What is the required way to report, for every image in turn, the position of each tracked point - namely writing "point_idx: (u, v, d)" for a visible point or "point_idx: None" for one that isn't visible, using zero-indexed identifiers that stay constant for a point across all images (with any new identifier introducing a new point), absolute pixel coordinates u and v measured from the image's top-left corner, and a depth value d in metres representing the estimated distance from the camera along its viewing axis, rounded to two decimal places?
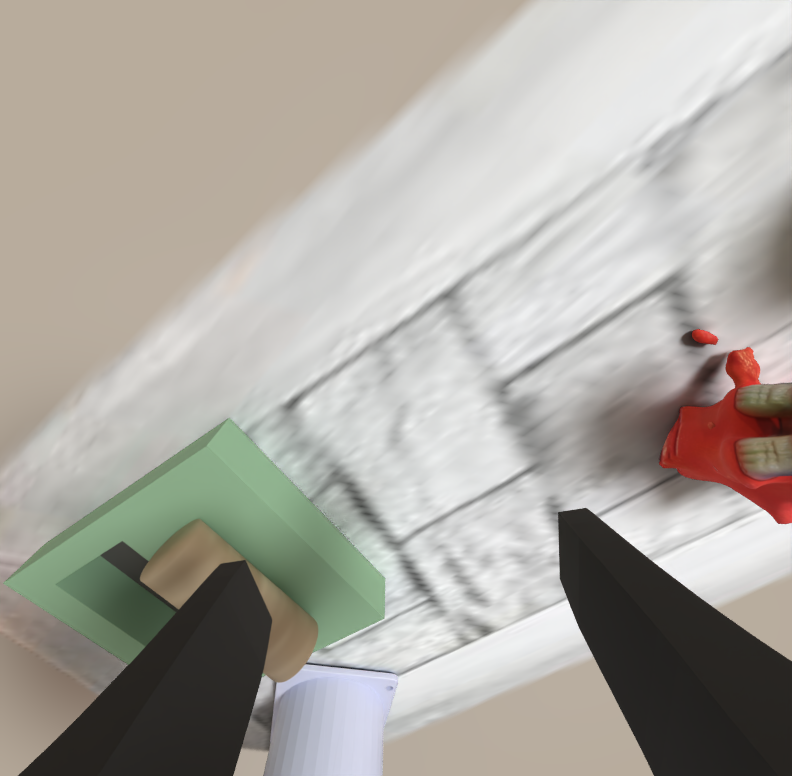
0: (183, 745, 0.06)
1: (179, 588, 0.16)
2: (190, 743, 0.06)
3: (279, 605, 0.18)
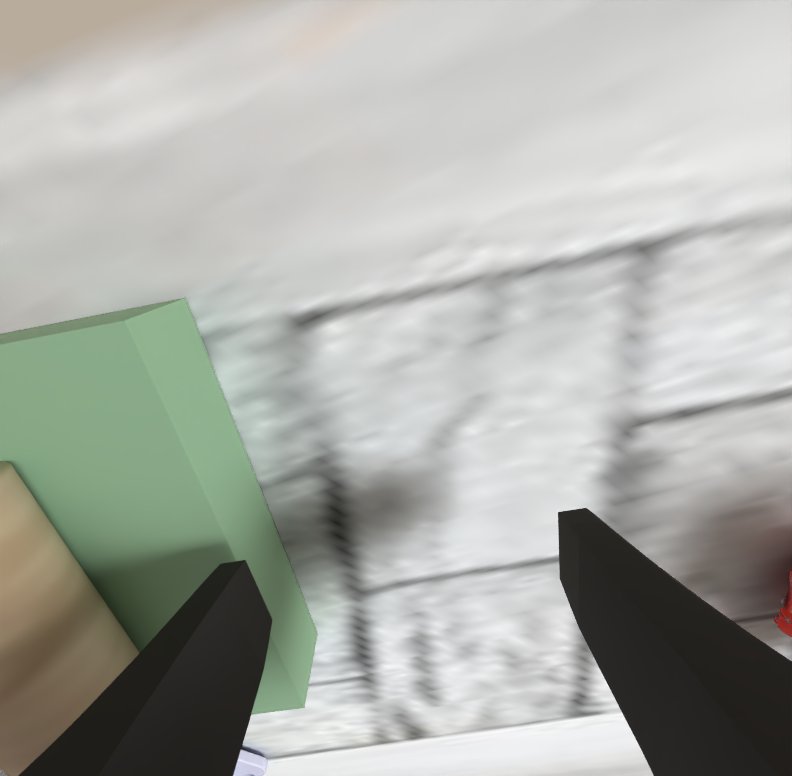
0: (183, 745, 0.06)
1: None
2: (190, 743, 0.06)
3: (71, 710, 0.09)
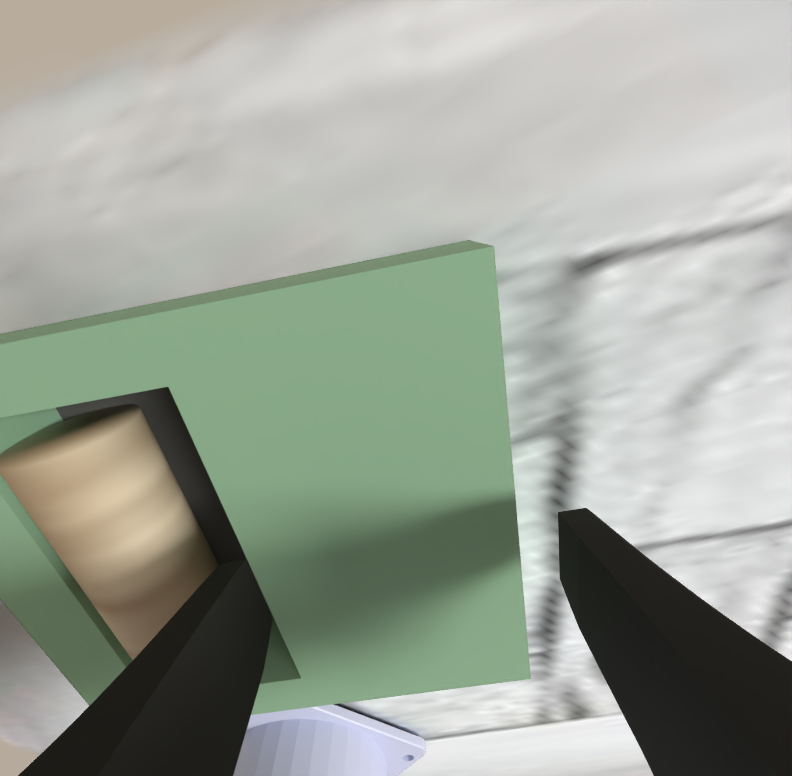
0: (183, 744, 0.06)
1: (147, 460, 0.10)
2: (190, 743, 0.06)
3: None
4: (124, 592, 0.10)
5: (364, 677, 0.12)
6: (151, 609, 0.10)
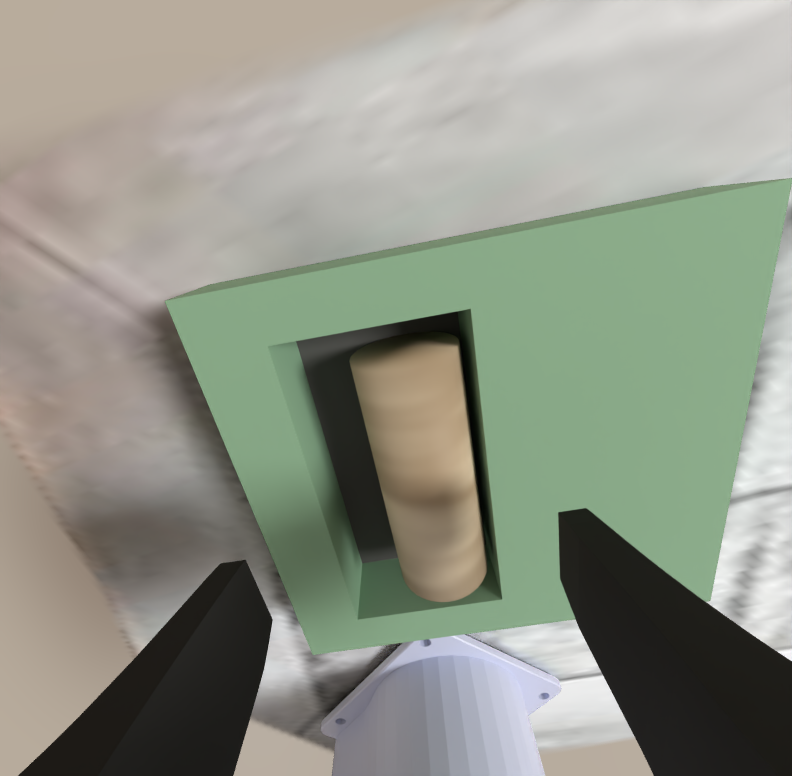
0: (183, 745, 0.06)
1: None
2: (190, 743, 0.06)
3: None
4: (474, 466, 0.12)
5: (560, 598, 0.13)
6: None
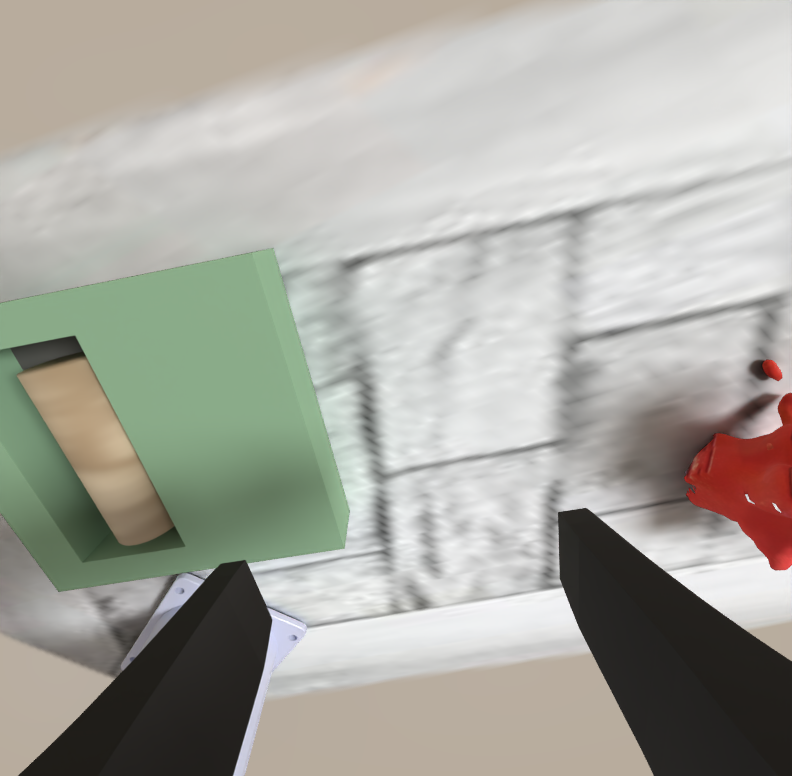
0: (183, 744, 0.06)
1: None
2: (190, 743, 0.06)
3: None
4: None
5: (229, 546, 0.18)
6: None
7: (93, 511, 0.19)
